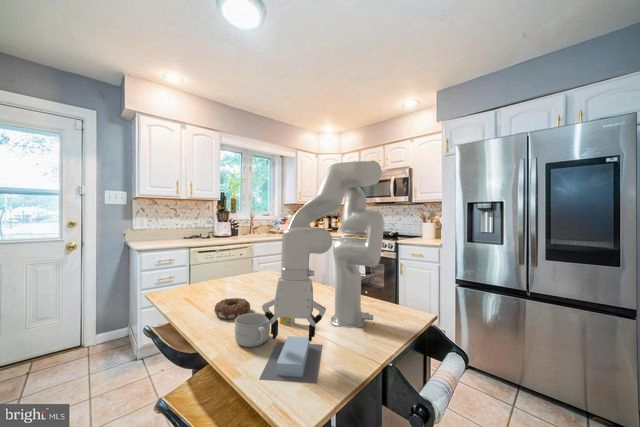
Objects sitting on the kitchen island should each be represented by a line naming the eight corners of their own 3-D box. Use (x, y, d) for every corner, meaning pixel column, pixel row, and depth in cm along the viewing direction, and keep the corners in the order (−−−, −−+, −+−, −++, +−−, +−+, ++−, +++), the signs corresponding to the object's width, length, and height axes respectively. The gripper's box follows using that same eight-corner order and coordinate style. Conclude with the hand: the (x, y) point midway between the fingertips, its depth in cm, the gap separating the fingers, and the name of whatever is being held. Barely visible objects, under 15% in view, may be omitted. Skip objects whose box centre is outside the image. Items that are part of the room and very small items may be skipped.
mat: (322, 347, 80) (322, 344, 80) (316, 387, 62) (316, 383, 62) (277, 345, 81) (277, 342, 81) (258, 383, 63) (258, 379, 63)
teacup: (232, 339, 85) (232, 314, 85) (266, 332, 90) (266, 309, 89) (238, 361, 72) (239, 332, 72) (277, 353, 77) (277, 326, 77)
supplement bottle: (287, 320, 100) (287, 294, 100) (297, 324, 97) (297, 297, 97) (276, 324, 96) (276, 298, 96) (286, 329, 93) (287, 301, 92)
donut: (206, 317, 102) (206, 304, 102) (231, 305, 115) (231, 294, 115) (234, 324, 96) (234, 310, 96) (258, 311, 109) (258, 299, 109)
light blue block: (309, 347, 79) (309, 337, 79) (302, 376, 65) (302, 364, 65) (287, 346, 79) (287, 336, 79) (276, 375, 65) (276, 363, 65)
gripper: (327, 272, 74) (325, 334, 74) (267, 270, 76) (265, 330, 76) (326, 279, 67) (324, 347, 67) (259, 275, 68) (257, 342, 68)
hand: (292, 337), depth 71 cm, fingers open, 9 cm apart
